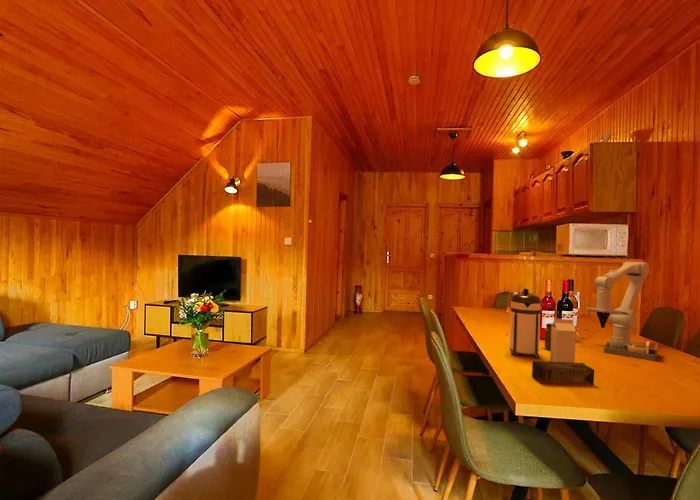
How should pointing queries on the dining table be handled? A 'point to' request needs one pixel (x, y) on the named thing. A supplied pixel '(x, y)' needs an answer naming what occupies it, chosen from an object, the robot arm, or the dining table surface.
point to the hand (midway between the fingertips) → (602, 327)
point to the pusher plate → (647, 347)
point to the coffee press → (525, 324)
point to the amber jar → (636, 347)
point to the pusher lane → (651, 356)
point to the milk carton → (563, 341)
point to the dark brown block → (562, 373)
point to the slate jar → (617, 342)
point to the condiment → (548, 336)
